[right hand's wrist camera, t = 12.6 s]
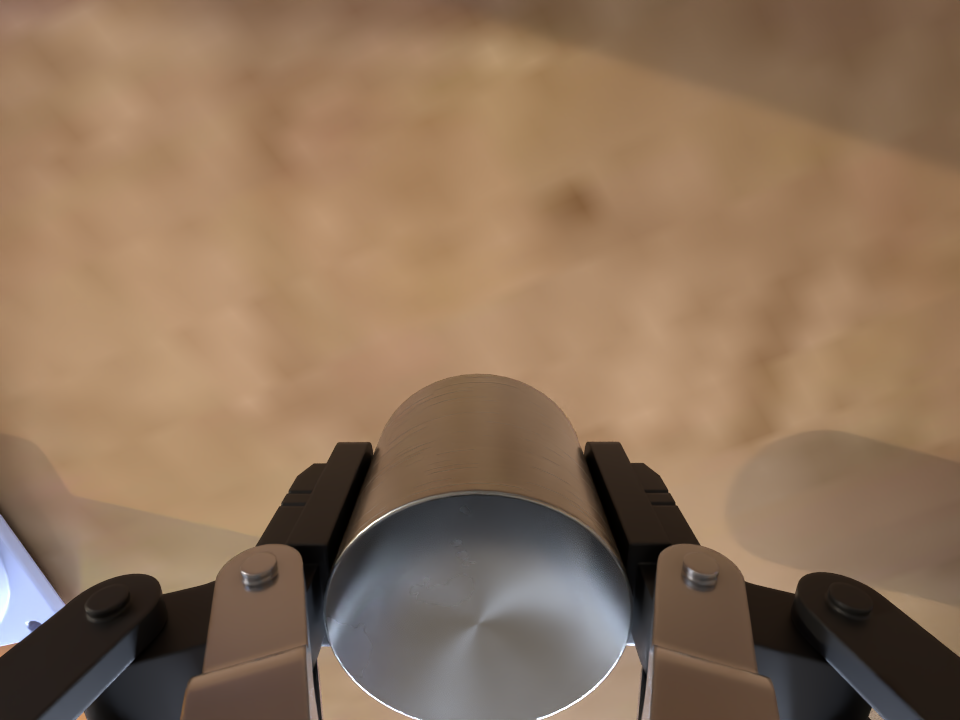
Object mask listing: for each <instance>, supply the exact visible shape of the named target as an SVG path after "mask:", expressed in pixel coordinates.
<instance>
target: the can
mask: <svg viewBox="0 0 960 720" xmlns="http://www.w3.org/2000/svg"><path fill="white" fill-rule="evenodd" d="M323 615H324V625H325V629H326V633H327V637H328V641H329V643H330V645H331V648H332V650H333V652H334V655H335V656H336V658H337V659H338V661H339V663H340V664H341V666H342V668H343V669H344V670H345V671H346V672H347V674H348V675H349V676H350V677H351V678H352V680H353V681H354V682H355V683H357V684H358V685H359V686H360V687H361V688H362V689H363V690H364V691H365V692H367V693H368V694H369V695H371V696H372V697H373V698H375V699H376V700H378V701H379V702H381V703H382V704H384V705H386V706H388V707H390V708H391V709H393V710H395V711H397V712H400V713H402V714H404V715H407V716H409V717H412V718H415V719H418V720H539V719H542V718H545V717H548V716H550V715H553V714H555V713H557V712H559V711H561V710H563V709H566V708H568V707H569V706H571V705H572V704H574V703H576V702H577V701H579V700H581V699H582V698H584V697H585V696H586V695H587V694H589V693H590V692H591V691H593V690H594V689H595V688H596V687H597V686H598V685H599V684H600V683H601V682H602V681H603V680H604V679H605V678H606V677H607V676H608V675H609V673H610V672H611V671H612V669H613V668H614V667H615V665H616V664H617V662H618V661H619V659H620V657H621V655H622V653H623V652H624V650H625V647H626V644H627V642H628V639H629V636H630V631H631V626H632V621H633V596H632V590H631V585H630V582H629V579H628V576H627V573H626V570H625V567H624V564H623V562H622V559H621V556H620V553H619V551H618V548H617V545H616V542H615V540H614V537H613V534H612V531H611V529H610V526H609V523H608V520H607V518H606V515H605V512H604V509H603V507H602V504H601V501H600V498H599V496H598V493H597V490H596V487H595V485H594V482H593V479H592V476H591V474H590V471H589V468H588V465H587V462H586V460H585V457H584V454H583V451H582V449H581V446H580V443H579V440H578V438H577V435H576V432H575V430H574V428H573V426H572V425H571V423H570V421H569V420H568V418H567V417H566V415H565V414H564V412H563V411H562V410H561V409H560V408H559V407H558V406H557V405H556V404H555V403H554V402H553V401H552V400H551V399H550V398H548V397H547V396H546V395H545V394H543V393H542V392H540V391H538V390H537V389H535V388H533V387H532V386H529V385H527V384H525V383H523V382H520V381H518V380H514V379H511V378H507V377H503V376H497V375H491V374H469V375H460V376H455V377H450V378H446V379H443V380H440V381H437V382H435V383H433V384H430V385H428V386H426V387H424V388H422V389H421V390H419V391H418V392H416V393H415V394H413V395H412V396H410V397H409V398H408V399H407V400H406V401H405V402H403V403H402V404H401V405H400V406H399V407H398V409H397V410H396V411H395V412H394V413H393V414H392V416H391V417H390V419H389V421H388V422H387V424H386V425H385V428H384V430H383V432H382V434H381V436H380V439H379V442H378V444H377V447H376V450H375V452H374V455H373V458H372V461H371V463H370V466H369V469H368V471H367V474H366V477H365V479H364V482H363V485H362V487H361V490H360V493H359V495H358V498H357V501H356V503H355V506H354V509H353V512H352V514H351V517H350V520H349V522H348V525H347V528H346V530H345V533H344V536H343V538H342V541H341V544H340V546H339V549H338V552H337V555H336V557H335V560H334V563H333V565H332V568H331V571H330V573H329V576H328V580H327V584H326V587H325V591H324V601H323Z"/></svg>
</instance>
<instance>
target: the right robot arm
mask: <svg viewBox="0 0 960 720" xmlns="http://www.w3.org/2000/svg"><path fill="white" fill-rule="evenodd" d="M584 457H585V460H586V462H587V465H588V468H589V471H590V474H591V476H592V479H593V482H594V485H595V487H596V490H597V493H598V496H599V498H600V501H601V504H602V507H603V509H604V512H605V515H606V518H607V520H608V523H609V526H610V529H611V531H612V534H613V537H614V540H615V542H616V545H617V548H618V551H619V553H620V556H621V559H622V562H623V564H624V567H625V570H626V573H627V576H628V579H629V582H630V585H631V590H632V596H633V621H632V626H631V631H630V636H629V639H628V642H627V644H626V645H635V646H636V649H637V652H638V656H639V659H640V662H641V665H642V669H641V676H640V687H639V698H638V710H637V720H871V719H870V718H869V717H868V716H869V714H870V711H871V708H873V709H874V710H875V711H876V712H877V713H878V714H879V715H880V716H881V717H882V718H883V719H884V720H960V657H959V656H957V655H956V654H955V653H954V652H952V651H951V650H950V649H949V648H947V647H946V646H945V645H944V644H942V643H941V642H940V641H939V640H937V639H936V638H935V637H934V636H932V635H931V634H930V633H928V632H927V631H926V630H925V629H923V628H922V627H921V626H920V625H918V624H917V623H916V622H915V621H913V620H912V619H911V618H910V617H908V616H907V615H906V614H905V613H903V612H902V611H901V610H900V609H898V608H897V607H896V606H895V605H893V604H892V603H891V602H890V601H888V600H887V599H886V598H885V597H883V596H882V595H881V594H879V593H878V592H877V591H875V590H873V589H872V588H870V587H868V586H867V585H865V584H863V583H861V582H859V581H856V580H854V579H851V578H849V577H845V576H842V575H838V574H834V573H827V572H816V573H810V574H807V575H805V576H803V577H802V578H801V579H800V580H799V583H798V585H797V589H796V593H795V594H793V593H789V592H785V591H780V590H776V589H772V588H767V587H763V586H759V585H755V584H751V583H748V582H745V581H744V577H743V575H742V573H741V571H740V570H739V569H738V567H737V566H736V565H735V564H734V563H733V562H732V561H731V560H729V559H728V558H727V557H725V556H724V555H722V554H720V553H718V552H716V551H714V550H712V549H709V548H707V547H703V546H701V545H700V544H699V542H698V540H697V539H696V537H695V535H694V533H693V532H692V530H691V528H690V527H689V525H688V523H687V522H686V520H685V518H684V516H683V515H682V513H681V511H680V510H679V508H678V506H676V505H675V501H674V499H673V498H672V496H671V494H670V493H668V489H667V487H666V486H665V484H664V482H663V480H662V479H661V477H660V476H659V475H658V474H657V473H656V472H654V471H653V470H652V469H650V468H649V467H648V466H646V465H645V464H644V463H630V461H629V459H628V457H627V455H626V453H625V451H624V449H623V447H622V446H621V444H620V443H619V442H587V443H586V446H585V451H584ZM372 458H373V449H372V445H371V443H370V442H339V443H337V445H336V446H335V448H334V450H333V452H332V454H331V456H330V458H329V460H328V462H327V464H313V465H311V466H310V467H309V468H307V469H306V470H305V471H303V472H302V473H301V474H300V475H298V476H297V478H296V479H295V481H294V483H293V484H292V486H291V488H290V489H289V493H288V494H286V496H285V498H284V500H283V501H282V503H281V506H279V508H278V510H277V511H276V513H275V515H274V516H273V518H272V520H271V521H270V523H269V525H268V526H267V528H266V530H265V532H264V533H263V535H262V537H261V538H260V540H259V542H258V543H257V545H256V547H253V548H251V549H248V550H246V551H244V552H242V553H240V554H238V555H236V556H235V557H233V558H232V559H231V560H229V561H228V562H227V563H226V564H225V565H224V566H223V567H222V569H221V570H220V571H219V573H218V575H217V577H216V581H213V582H210V583H208V584H204V585H201V586H197V587H193V588H188V589H184V590H180V591H175V592H171V593H167V594H162V590H161V586H160V584H159V582H158V581H157V580H156V579H155V578H154V577H152V576H149V575H145V574H128V575H122V576H118V577H114V578H111V579H108V580H106V581H103V582H101V583H99V584H97V585H95V586H93V587H91V588H89V589H87V590H86V591H84V592H82V593H81V594H80V595H78V596H77V597H75V598H74V599H73V600H72V601H70V602H69V603H68V604H67V605H65V606H64V607H63V608H62V609H60V610H59V611H58V612H57V613H55V614H54V615H53V616H52V617H50V618H49V619H48V620H47V621H45V622H44V623H43V624H42V625H40V626H39V627H38V628H37V629H35V630H34V631H33V632H31V633H30V634H29V635H28V636H26V637H25V638H24V639H23V640H21V641H20V642H19V643H18V644H16V645H15V646H14V647H13V648H11V649H10V650H9V651H8V652H6V653H5V654H4V655H3V656H1V657H0V720H76V719H77V718H78V717H79V716H80V715H81V714H82V713H83V712H84V713H85V715H86V718H87V720H323V710H322V698H321V687H320V676H319V669H318V662H317V657H318V654H319V651H320V648H321V646H331V645H330V643H329V641H328V637H327V633H326V629H325V625H324V615H323V601H324V591H325V587H326V584H327V580H328V576H329V573H330V571H331V568H332V565H333V563H334V560H335V557H336V555H337V552H338V549H339V546H340V544H341V541H342V538H343V536H344V533H345V530H346V528H347V525H348V522H349V520H350V517H351V514H352V512H353V509H354V506H355V503H356V501H357V498H358V495H359V493H360V490H361V487H362V485H363V482H364V479H365V477H366V474H367V471H368V469H369V466H370V463H371V461H372Z"/></svg>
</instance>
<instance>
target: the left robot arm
mask: <svg viewBox="0 0 960 720" xmlns="http://www.w3.org/2000/svg"><path fill="white" fill-rule="evenodd" d="M64 606H65V604H64V602H63V601H62V599H61V598H60V597H59V595H58V594H57V592H56V591H55V590H54V588H53V587H52V585H51V584H50V583H49V581H48V580H47V578H46V577H45V576H44V574H43V573H42V571H41V570H40V569H39V567H38V566H37V564H36V563H35V562H34V560H33V559H32V557H31V556H30V555H29V553H28V552H27V550H26V549H25V548H24V546H23V545H22V543H21V542H20V541H19V539H18V538H17V536H16V535H15V534H14V532H13V531H12V529H11V528H10V527H9V525H8V524H7V522H6V521H5V520H4V518H3V517H2V515H1V514H0V646H3V645H8V644H12V643H17V642H20V641H21V640H23V639H24V638H25V637H26V636H28V635H29V634H30V633H31V632H33V631H34V630H35V629H37V628H38V627H39V626H40V625H42V624H43V623H44V622H45V621H47V620H48V619H49V618H50V617H52V616H53V615H54V614H55V613H57V612H58V611H59V610H60V609H62V608H63V607H64Z"/></svg>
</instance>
